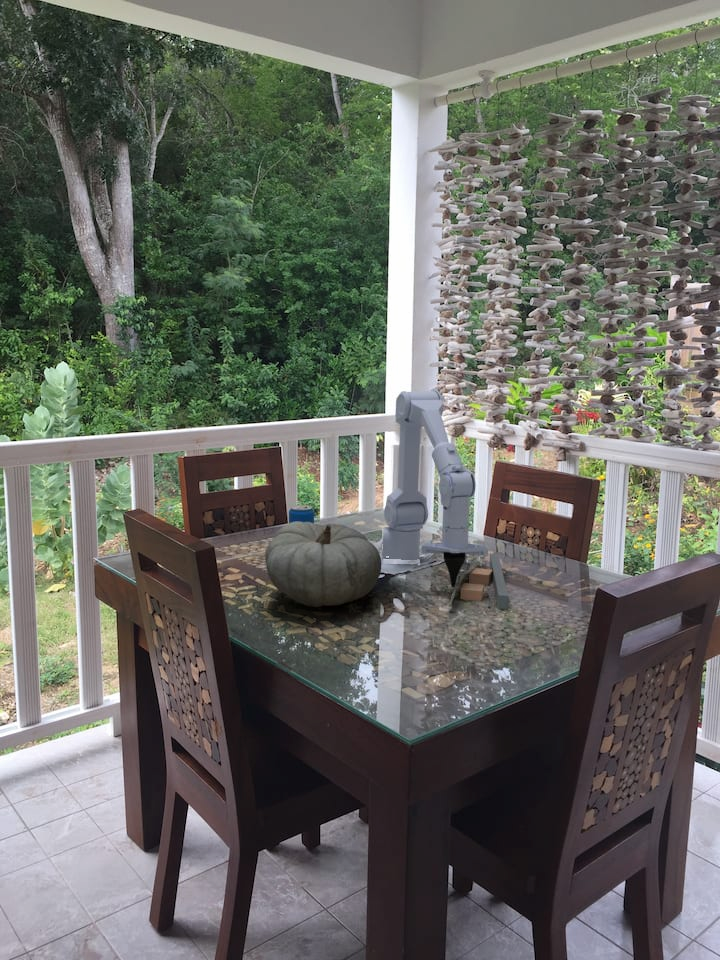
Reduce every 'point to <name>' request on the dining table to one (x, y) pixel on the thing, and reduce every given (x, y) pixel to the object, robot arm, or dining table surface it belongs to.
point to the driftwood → (467, 569)
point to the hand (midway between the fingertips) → (453, 585)
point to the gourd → (322, 563)
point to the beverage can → (301, 513)
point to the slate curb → (498, 582)
